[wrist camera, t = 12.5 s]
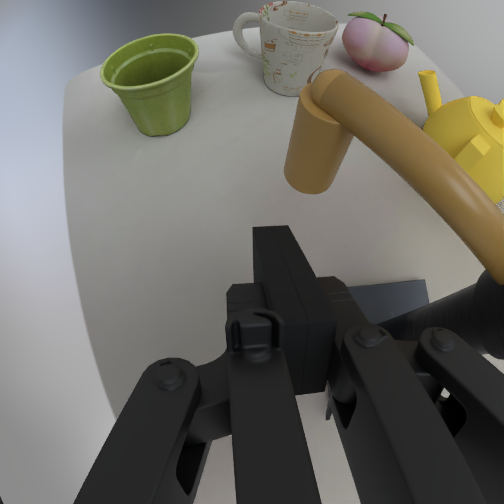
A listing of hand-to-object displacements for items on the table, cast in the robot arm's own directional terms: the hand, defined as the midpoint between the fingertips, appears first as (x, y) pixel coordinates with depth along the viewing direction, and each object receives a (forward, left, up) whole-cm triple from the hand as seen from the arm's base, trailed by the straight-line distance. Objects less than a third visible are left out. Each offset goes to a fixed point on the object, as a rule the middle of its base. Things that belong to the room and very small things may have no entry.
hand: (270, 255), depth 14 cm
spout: (+7, 0, -1) cm, 7 cm away
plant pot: (-9, +21, -12) cm, 26 cm away
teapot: (+25, +14, -12) cm, 31 cm away
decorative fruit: (+18, +32, -12) cm, 39 cm away
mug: (+4, +28, -12) cm, 31 cm away
